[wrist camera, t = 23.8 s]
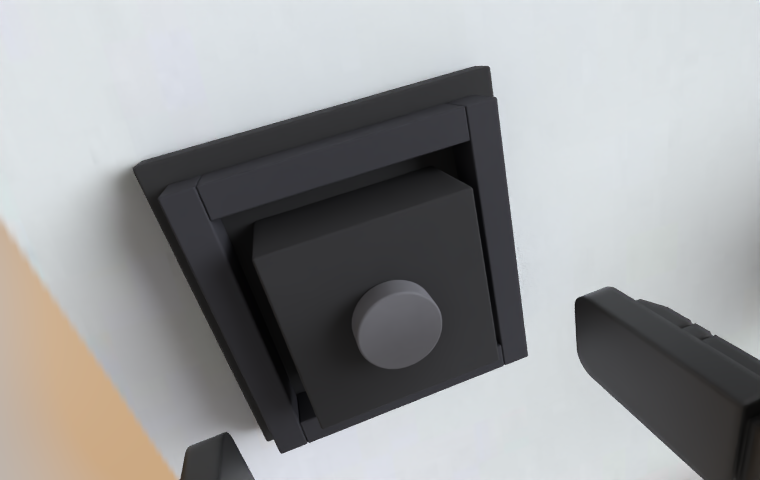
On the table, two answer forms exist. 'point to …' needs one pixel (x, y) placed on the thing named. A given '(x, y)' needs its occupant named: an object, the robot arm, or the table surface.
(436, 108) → the base pad
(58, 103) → the table surface
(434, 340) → the dark block with knob
